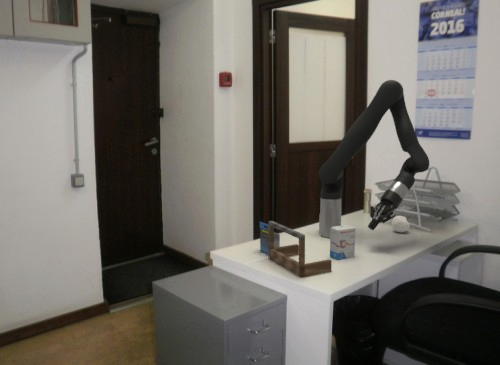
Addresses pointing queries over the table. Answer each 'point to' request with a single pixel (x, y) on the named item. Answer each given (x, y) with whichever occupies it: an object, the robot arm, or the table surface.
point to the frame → (283, 254)
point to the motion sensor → (400, 224)
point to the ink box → (342, 242)
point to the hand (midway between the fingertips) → (370, 228)
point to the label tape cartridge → (267, 238)
